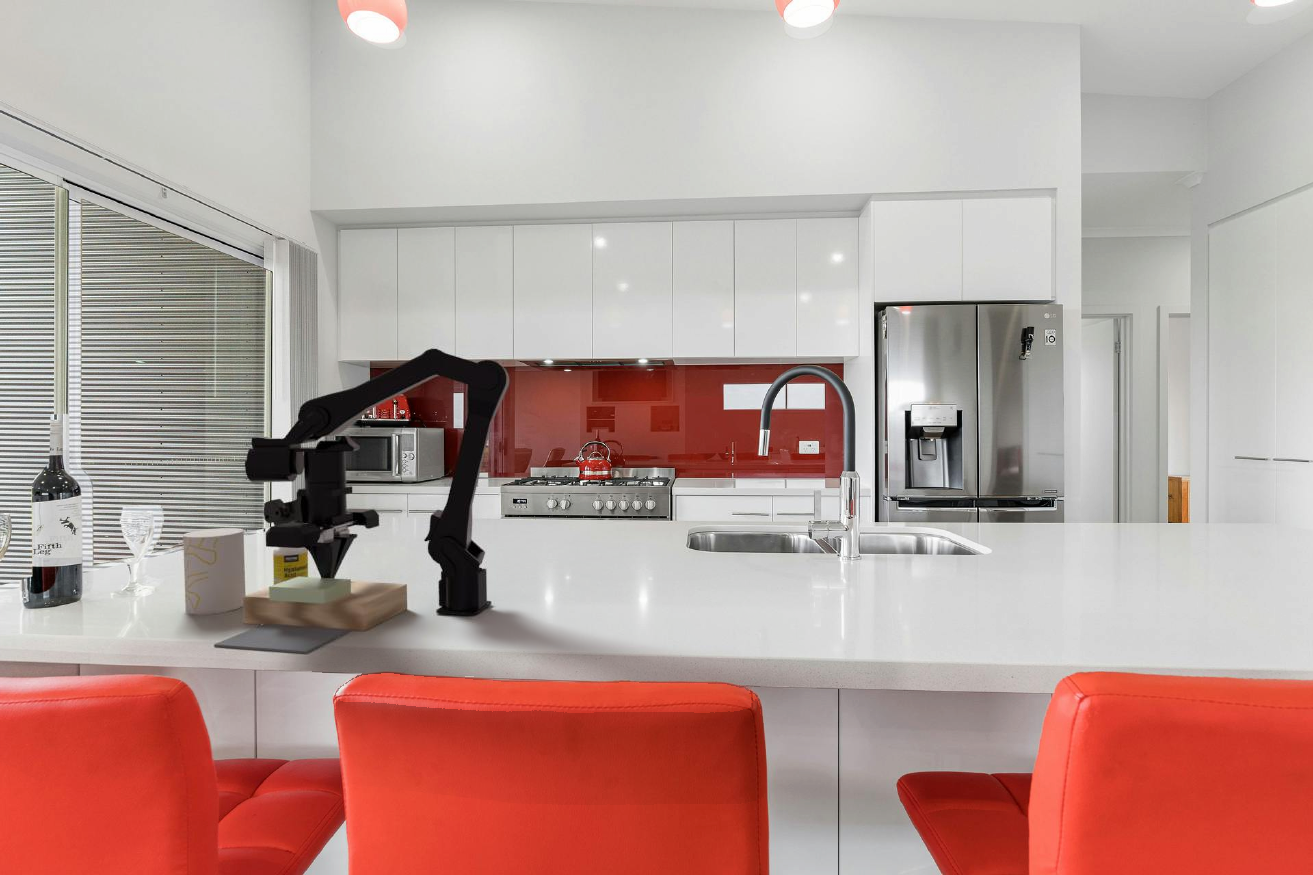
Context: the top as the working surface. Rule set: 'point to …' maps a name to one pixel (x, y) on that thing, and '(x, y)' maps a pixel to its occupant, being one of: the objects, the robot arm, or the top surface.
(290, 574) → the supplement bottle
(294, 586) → the pale green foam block
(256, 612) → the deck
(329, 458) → the robot arm
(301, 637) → the mat
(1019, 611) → the top surface
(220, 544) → the cup
